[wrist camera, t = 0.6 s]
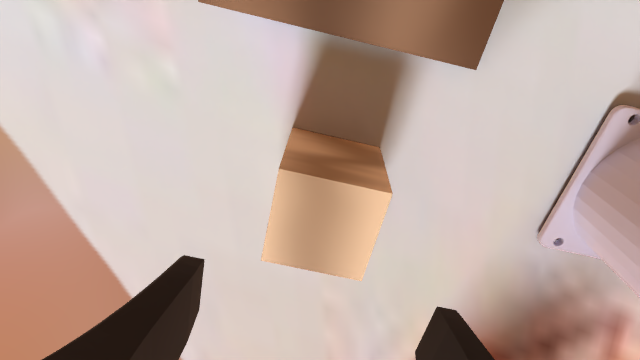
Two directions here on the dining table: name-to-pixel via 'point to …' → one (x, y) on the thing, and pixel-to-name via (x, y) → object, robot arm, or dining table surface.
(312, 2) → the brown piece
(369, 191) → the maple block
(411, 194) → the dining table surface
